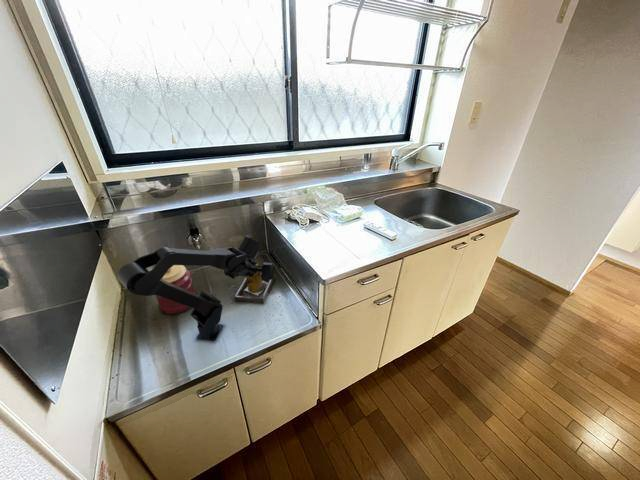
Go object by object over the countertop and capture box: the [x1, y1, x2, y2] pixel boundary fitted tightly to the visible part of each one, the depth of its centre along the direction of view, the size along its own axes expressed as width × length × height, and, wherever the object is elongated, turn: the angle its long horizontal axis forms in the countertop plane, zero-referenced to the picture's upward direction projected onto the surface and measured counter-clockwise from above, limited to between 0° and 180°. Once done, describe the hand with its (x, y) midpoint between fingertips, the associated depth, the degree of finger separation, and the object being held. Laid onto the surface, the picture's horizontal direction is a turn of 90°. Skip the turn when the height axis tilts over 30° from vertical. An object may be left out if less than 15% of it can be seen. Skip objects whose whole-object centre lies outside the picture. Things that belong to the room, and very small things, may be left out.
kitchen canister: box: [155, 265, 197, 315], centre depth 97 cm, size 13×13×18 cm
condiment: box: [243, 262, 269, 297], centre depth 106 cm, size 7×8×12 cm
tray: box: [234, 274, 275, 305], centre depth 108 cm, size 16×12×2 cm
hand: (256, 272), depth 107 cm, fingers open, 9 cm apart
